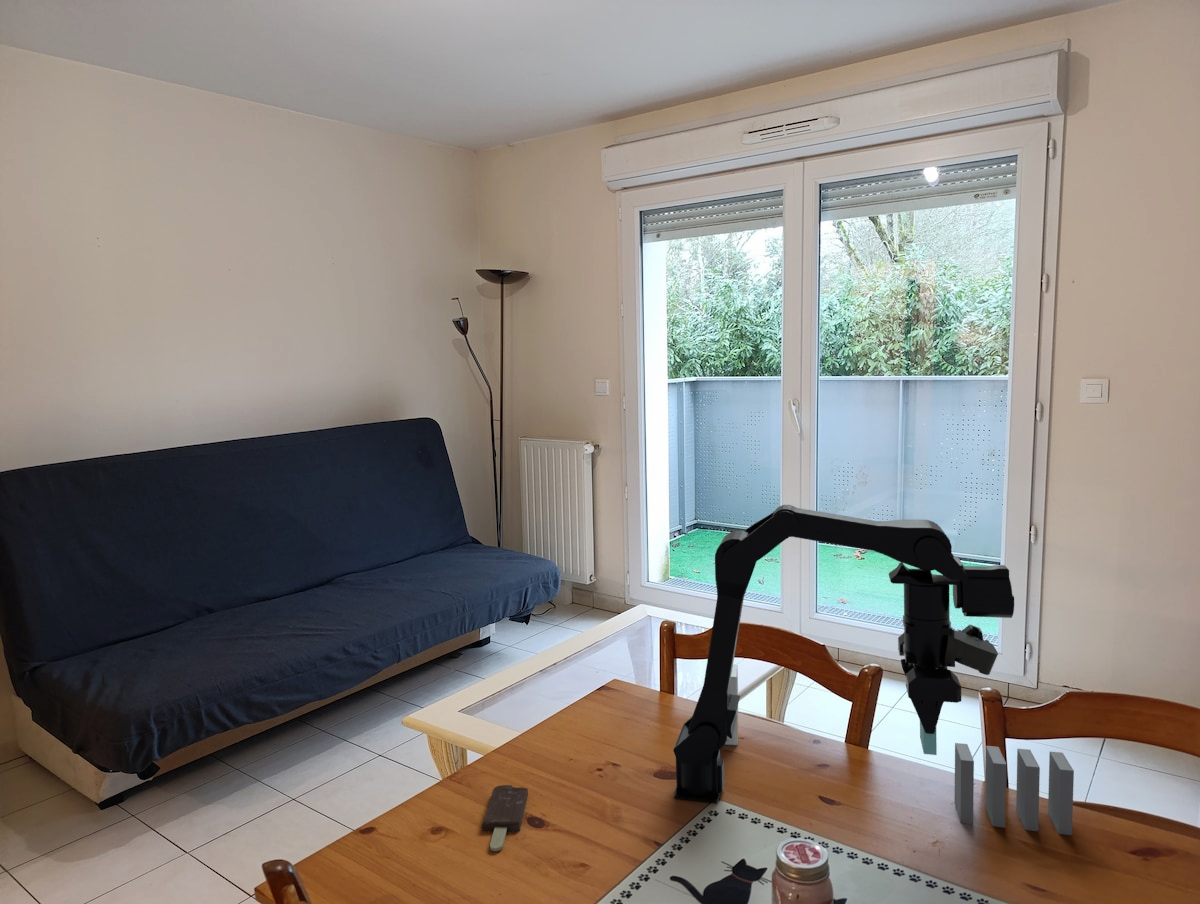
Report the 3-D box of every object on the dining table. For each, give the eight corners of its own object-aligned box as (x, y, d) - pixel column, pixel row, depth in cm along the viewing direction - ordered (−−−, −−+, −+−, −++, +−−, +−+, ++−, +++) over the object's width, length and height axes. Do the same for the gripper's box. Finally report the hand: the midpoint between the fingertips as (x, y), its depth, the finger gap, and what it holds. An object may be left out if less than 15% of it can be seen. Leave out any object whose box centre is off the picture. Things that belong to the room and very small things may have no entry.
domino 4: (1058, 833, 103) (1060, 769, 103) (1048, 813, 108) (1049, 751, 107) (1072, 835, 103) (1073, 770, 102) (1060, 814, 108) (1062, 752, 107)
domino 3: (1025, 829, 105) (1026, 766, 104) (1016, 809, 109) (1017, 748, 108) (1038, 831, 104) (1039, 767, 103) (1028, 811, 109) (1030, 749, 108)
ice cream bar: (515, 855, 104) (528, 794, 119) (514, 843, 103) (528, 783, 118) (476, 855, 104) (494, 795, 119) (475, 844, 104) (493, 784, 119)
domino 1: (960, 822, 107) (961, 759, 106) (954, 802, 112) (955, 742, 111) (973, 823, 106) (973, 761, 105) (966, 804, 111) (967, 744, 110)
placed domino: (923, 753, 105) (923, 689, 104) (920, 737, 110) (919, 675, 109) (936, 755, 105) (936, 690, 104) (932, 738, 109) (931, 676, 109)
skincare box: (738, 746, 131) (737, 677, 129) (712, 744, 131) (711, 676, 130) (739, 729, 136) (738, 663, 135) (714, 728, 137) (713, 662, 136)
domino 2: (992, 826, 106) (993, 763, 105) (984, 806, 110) (985, 745, 110) (1005, 827, 105) (1006, 764, 104) (997, 807, 110) (998, 746, 109)
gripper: (1006, 640, 94) (1006, 763, 96) (979, 597, 112) (980, 701, 113) (908, 636, 98) (909, 754, 99) (897, 594, 115) (898, 695, 117)
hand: (927, 724), depth 107 cm, fingers closed on placed domino, 5 cm apart
